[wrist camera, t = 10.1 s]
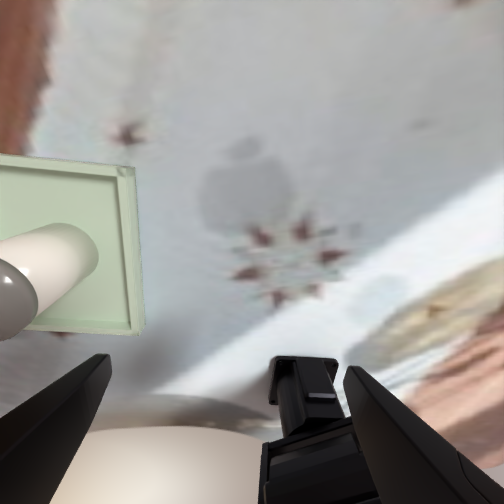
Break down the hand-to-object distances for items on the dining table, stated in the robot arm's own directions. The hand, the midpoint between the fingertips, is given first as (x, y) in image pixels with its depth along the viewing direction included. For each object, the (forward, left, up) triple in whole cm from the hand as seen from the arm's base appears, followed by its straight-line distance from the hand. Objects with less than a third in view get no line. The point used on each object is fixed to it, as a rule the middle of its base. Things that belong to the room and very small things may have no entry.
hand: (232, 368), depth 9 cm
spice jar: (-1, +13, -12) cm, 18 cm away
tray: (-1, +13, -12) cm, 18 cm away
